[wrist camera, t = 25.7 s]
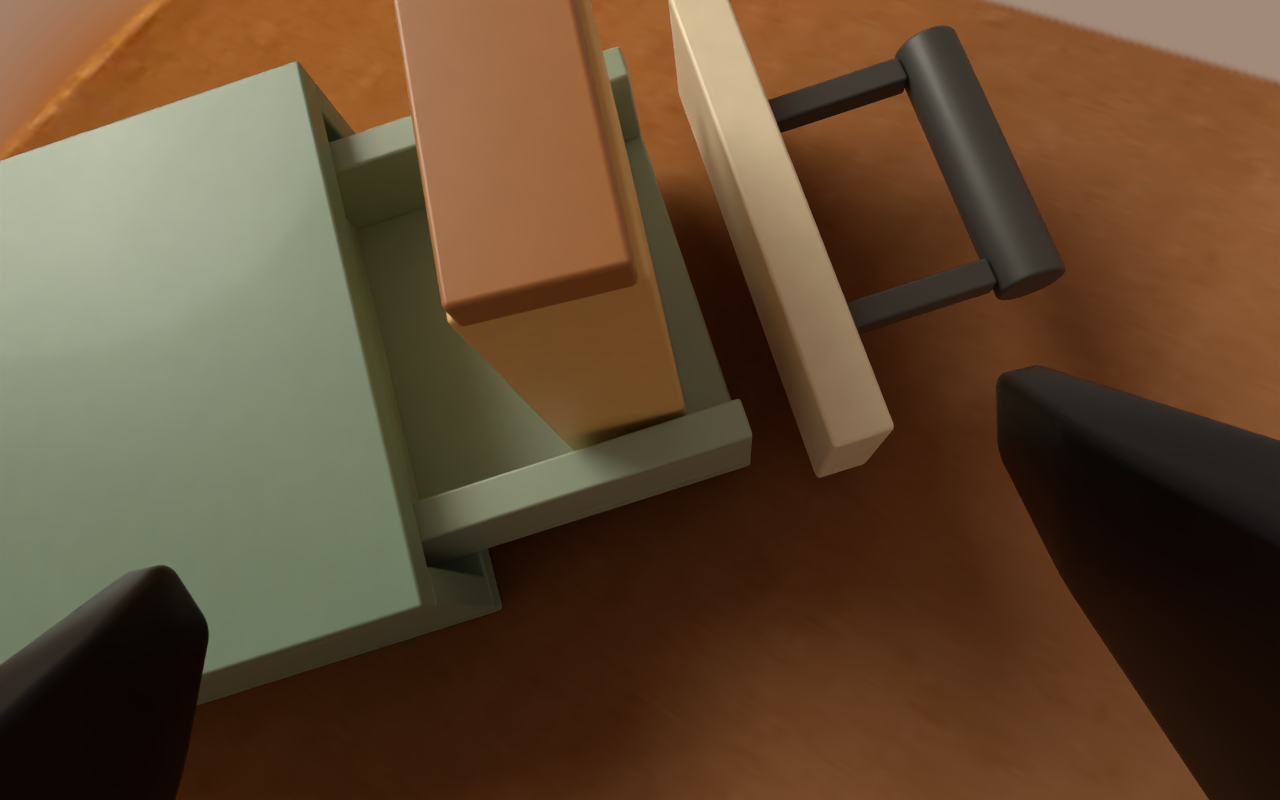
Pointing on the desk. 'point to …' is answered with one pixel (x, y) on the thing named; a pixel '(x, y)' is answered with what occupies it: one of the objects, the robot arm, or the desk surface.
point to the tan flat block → (537, 211)
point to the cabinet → (206, 390)
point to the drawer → (681, 291)
